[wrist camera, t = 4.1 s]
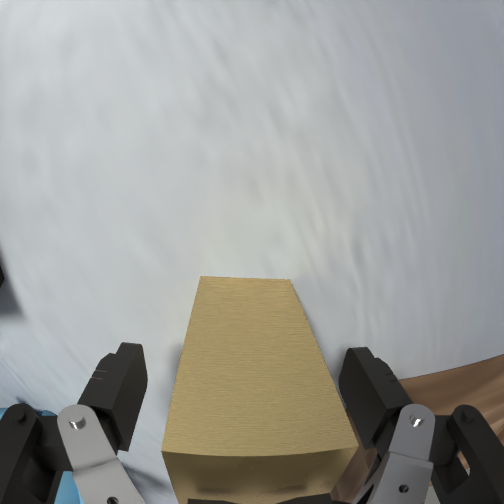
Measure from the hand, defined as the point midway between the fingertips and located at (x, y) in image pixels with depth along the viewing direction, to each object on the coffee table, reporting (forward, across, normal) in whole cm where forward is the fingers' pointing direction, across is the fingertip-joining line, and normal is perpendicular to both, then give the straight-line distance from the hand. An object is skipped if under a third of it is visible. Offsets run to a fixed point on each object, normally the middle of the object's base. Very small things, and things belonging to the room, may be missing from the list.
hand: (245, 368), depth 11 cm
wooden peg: (+3, 0, 0) cm, 3 cm away
